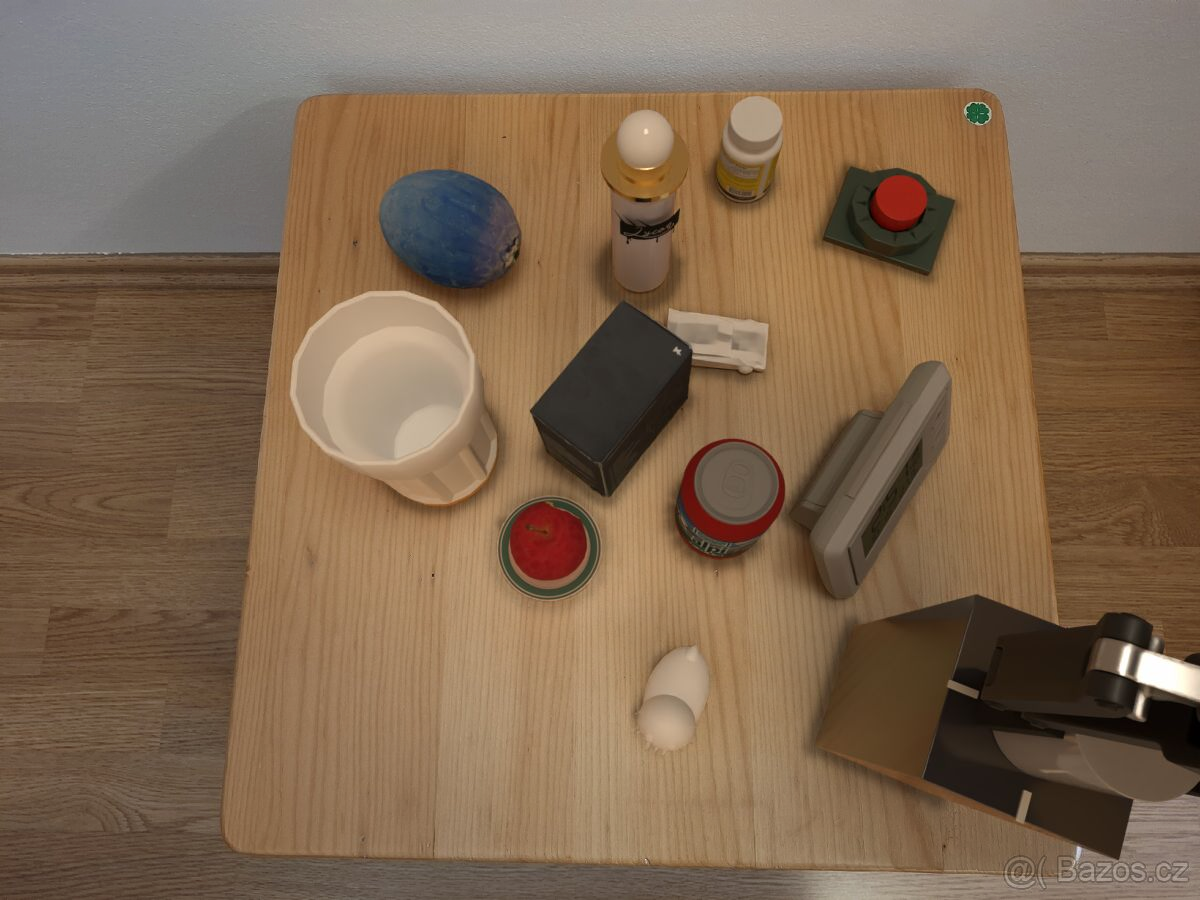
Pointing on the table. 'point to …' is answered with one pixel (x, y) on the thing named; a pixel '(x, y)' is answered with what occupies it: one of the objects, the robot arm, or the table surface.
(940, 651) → the pillar
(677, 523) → the beverage can
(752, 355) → the toy car
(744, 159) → the supplement bottle
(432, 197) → the blue plum
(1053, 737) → the robot arm
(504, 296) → the table surface
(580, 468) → the box
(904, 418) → the digital clock
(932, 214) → the button box
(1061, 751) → the hob knob
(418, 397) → the cup
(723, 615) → the table surface
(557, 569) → the apple
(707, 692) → the toy creature
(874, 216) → the button
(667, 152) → the perfume bottle
